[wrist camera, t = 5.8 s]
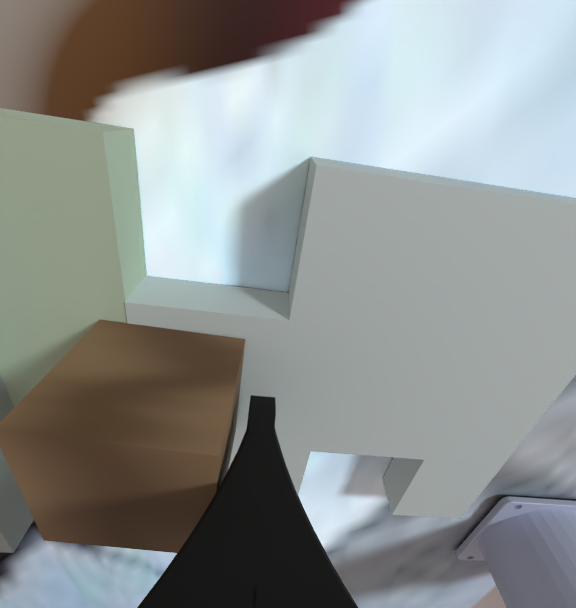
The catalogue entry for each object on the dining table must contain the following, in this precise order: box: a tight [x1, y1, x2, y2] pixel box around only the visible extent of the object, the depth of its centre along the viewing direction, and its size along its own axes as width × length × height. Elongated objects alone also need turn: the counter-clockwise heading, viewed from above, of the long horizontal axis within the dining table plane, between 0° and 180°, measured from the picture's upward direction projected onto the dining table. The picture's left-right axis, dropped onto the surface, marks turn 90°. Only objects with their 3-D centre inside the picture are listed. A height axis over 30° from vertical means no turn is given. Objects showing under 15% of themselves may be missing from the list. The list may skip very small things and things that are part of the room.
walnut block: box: [0, 320, 245, 553], centre depth 10 cm, size 5×5×4 cm
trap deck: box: [0, 108, 576, 553], centre depth 13 cm, size 23×17×4 cm
